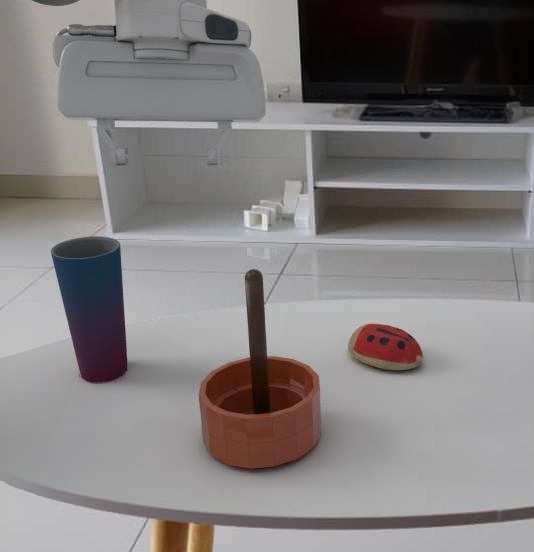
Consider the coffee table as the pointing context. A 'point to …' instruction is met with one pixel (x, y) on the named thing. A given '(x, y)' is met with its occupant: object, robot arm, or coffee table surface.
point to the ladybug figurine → (385, 347)
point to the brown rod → (257, 343)
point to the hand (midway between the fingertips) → (168, 166)
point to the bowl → (260, 427)
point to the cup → (93, 304)
